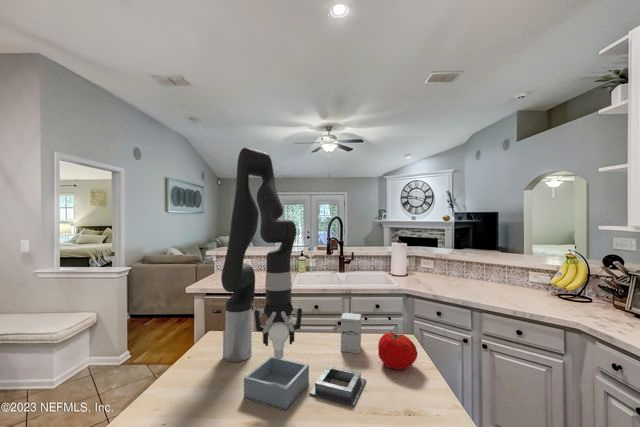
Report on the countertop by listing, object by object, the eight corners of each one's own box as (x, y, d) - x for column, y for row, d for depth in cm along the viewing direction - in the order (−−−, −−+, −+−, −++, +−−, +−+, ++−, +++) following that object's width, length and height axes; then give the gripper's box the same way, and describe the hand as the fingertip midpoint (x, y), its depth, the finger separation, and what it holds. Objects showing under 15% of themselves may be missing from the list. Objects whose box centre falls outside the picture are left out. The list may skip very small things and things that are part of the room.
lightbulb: (269, 365, 78) (269, 325, 78) (266, 355, 84) (266, 318, 84) (291, 362, 80) (291, 323, 80) (287, 352, 86) (287, 316, 86)
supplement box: (340, 352, 105) (340, 318, 106) (342, 343, 112) (342, 312, 113) (360, 354, 104) (359, 319, 104) (361, 345, 111) (361, 313, 111)
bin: (243, 397, 78) (243, 377, 78) (270, 373, 90) (270, 356, 91) (286, 410, 73) (286, 389, 73) (308, 382, 85) (308, 364, 85)
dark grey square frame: (309, 395, 79) (309, 384, 79) (326, 372, 91) (326, 362, 91) (353, 407, 74) (353, 395, 74) (365, 381, 86) (365, 371, 86)
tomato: (370, 360, 99) (370, 330, 99) (398, 353, 104) (398, 325, 104) (394, 379, 87) (394, 345, 87) (425, 371, 92) (424, 338, 92)
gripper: (302, 283, 87) (302, 337, 87) (255, 284, 85) (254, 340, 85) (303, 288, 80) (304, 348, 79) (252, 290, 78) (252, 351, 77)
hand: (278, 343), depth 82 cm, fingers closed on lightbulb, 6 cm apart
